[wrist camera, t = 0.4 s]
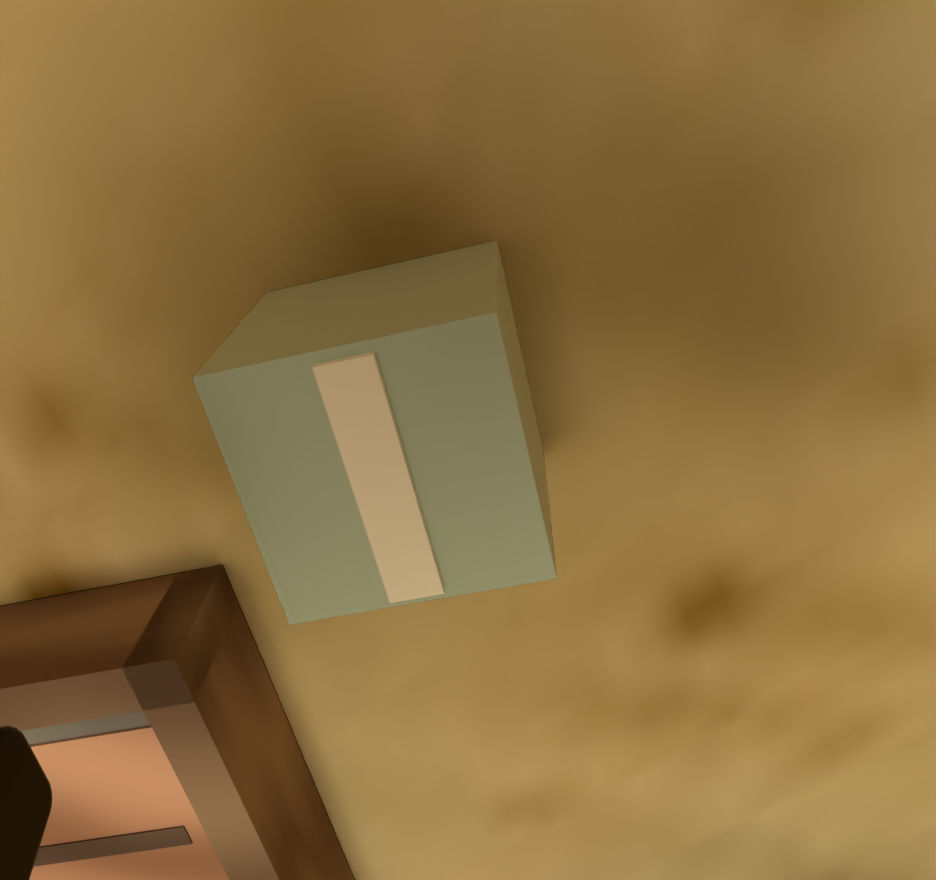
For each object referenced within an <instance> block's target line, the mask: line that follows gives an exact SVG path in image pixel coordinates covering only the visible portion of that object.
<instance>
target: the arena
mask: <svg viewBox="0 0 936 880" xmlns="http://www.w3.org/2000/svg"><path fill="white" fill-rule="evenodd" d="M0 726H12V727H16V728H17V729H18V730H20V731H21V732H22V733H23V735H24V736H25V738H26V740H27V741H28V743H29V745H30V747H31V749H32V751H33V752H34V754H35V756H36V758H37V760H38V762H39V764H40V765H41V767H42V769H43V771H44V773H45V775H46V777H47V778H48V780H49V783H50V785H51V789H52V808H51V812H50V815H49V818H48V822H47V825H46V828H45V831H44V835H43V838H42V841H41V844H40V847H39V851H38V854H37V857H36V860H35V863H34V867H33V870H32V873H31V876H30V879H29V880H355V879H354V877H353V875H352V872H351V870H350V867H349V865H348V863H347V860H346V858H345V856H344V853H343V851H342V848H341V846H340V844H339V841H338V839H337V837H336V834H335V832H334V829H333V827H332V825H331V822H330V820H329V818H328V815H327V813H326V810H325V808H324V806H323V803H322V801H321V799H320V796H319V794H318V791H317V789H316V787H315V784H314V782H313V779H312V777H311V775H310V772H309V770H308V768H307V765H306V763H305V760H304V758H303V756H302V753H301V751H300V749H299V746H298V744H297V741H296V739H295V737H294V734H293V732H292V730H291V727H290V725H289V722H288V720H287V718H286V715H285V713H284V711H283V708H282V706H281V703H280V701H279V699H278V696H277V694H276V692H275V689H274V687H273V684H272V682H271V680H270V677H269V675H268V673H267V670H266V668H265V665H264V663H263V661H262V658H261V656H260V653H259V651H258V649H257V646H256V644H255V642H254V639H253V637H252V634H251V632H250V630H249V627H248V625H247V623H246V620H245V618H244V615H243V613H242V611H241V608H240V606H239V604H238V601H237V599H236V596H235V594H234V592H233V589H232V587H231V585H230V582H229V580H228V577H227V575H226V573H225V570H224V568H223V566H222V565H221V566H215V567H210V568H205V569H199V570H194V571H188V572H183V573H178V574H172V575H167V576H161V577H156V578H151V579H145V580H140V581H134V582H129V583H124V584H118V585H113V586H107V587H102V588H97V589H91V590H86V591H80V592H75V593H70V594H64V595H59V596H53V597H48V598H43V599H37V600H32V601H26V602H21V603H16V604H10V605H5V606H0Z"/></svg>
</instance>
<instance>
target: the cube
mask: <svg viewBox="0 0 936 880" xmlns="http://www.w3.org/2000/svg"><path fill="white" fill-rule="evenodd" d="M192 379H193V382H194V385H195V387H196V390H197V392H198V395H199V397H200V400H201V402H202V405H203V407H204V410H205V412H206V415H207V417H208V420H209V422H210V425H211V428H212V430H213V433H214V435H215V438H216V440H217V443H218V445H219V448H220V450H221V453H222V455H223V458H224V460H225V463H226V466H227V468H228V471H229V473H230V476H231V478H232V481H233V483H234V486H235V488H236V491H237V493H238V496H239V498H240V501H241V504H242V506H243V509H244V511H245V514H246V516H247V519H248V521H249V524H250V526H251V529H252V531H253V534H254V536H255V539H256V542H257V544H258V547H259V549H260V552H261V554H262V557H263V559H264V562H265V564H266V567H267V569H268V572H269V574H270V577H271V580H272V582H273V585H274V587H275V590H276V592H277V595H278V597H279V600H280V602H281V605H282V607H283V610H284V612H285V615H286V617H287V620H288V623H289V625H292V624H297V623H303V622H309V621H315V620H320V619H326V618H332V617H338V616H343V615H349V614H355V613H361V612H366V611H372V610H378V609H384V608H390V607H395V606H401V605H407V604H413V603H418V602H424V601H430V600H436V599H441V598H447V597H453V596H459V595H465V594H470V593H476V592H482V591H488V590H493V589H499V588H505V587H511V586H516V585H522V584H528V583H534V582H540V581H545V580H551V579H557V575H556V566H555V556H554V547H553V537H552V527H551V518H550V508H549V499H548V489H547V479H546V470H545V460H544V452H543V448H542V443H541V439H540V434H539V430H538V425H537V420H536V416H535V411H534V407H533V402H532V397H531V393H530V388H529V384H528V379H527V375H526V370H525V365H524V361H523V356H522V352H521V347H520V343H519V338H518V333H517V329H516V324H515V320H514V315H513V311H512V306H511V301H510V297H509V292H508V288H507V283H506V278H505V274H504V269H503V265H502V260H501V256H500V251H499V246H498V242H497V241H493V242H488V243H484V244H479V245H475V246H470V247H466V248H462V249H457V250H453V251H448V252H444V253H440V254H435V255H431V256H426V257H422V258H417V259H413V260H409V261H404V262H400V263H395V264H391V265H386V266H382V267H378V268H373V269H369V270H364V271H360V272H355V273H351V274H347V275H342V276H338V277H333V278H329V279H325V280H320V281H316V282H311V283H307V284H302V285H298V286H294V287H289V288H285V289H280V290H276V291H271V292H267V293H266V294H265V295H264V296H263V297H262V298H261V299H260V301H259V302H258V303H257V304H256V305H255V306H254V307H253V309H252V310H251V311H250V312H249V313H248V314H247V315H246V317H245V318H244V319H243V320H242V321H241V322H240V323H239V325H238V326H237V327H236V328H235V329H234V330H233V331H232V333H231V334H230V335H229V336H228V337H227V338H226V339H225V341H224V342H223V343H222V344H221V345H220V346H219V347H218V349H217V350H216V351H215V352H214V353H213V354H212V355H211V357H210V358H209V359H208V360H207V361H206V362H205V363H204V365H203V366H202V367H201V368H200V369H199V370H198V371H197V373H196V374H195V375H194V376H193V377H192Z"/></svg>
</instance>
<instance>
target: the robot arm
mask: <svg viewBox="0 0 936 880" xmlns="http://www.w3.org/2000/svg"><path fill="white" fill-rule="evenodd" d="M51 808H52V789H51V785H50V783H49V780H48V778H47V777H46V775H45V773H44V771H43V769H42V767H41V765H40V764H39V762H38V760H37V758H36V756H35V754H34V752H33V751H32V749H31V747H30V745H29V743H28V741H27V740H26V738H25V736H24V735H23V733H22V732H21V731H20V730H18V729H17V728H16V727H12V726H0V880H29V879H30V876H31V873H32V870H33V867H34V863H35V860H36V857H37V854H38V851H39V847H40V844H41V841H42V838H43V835H44V831H45V828H46V825H47V822H48V818H49V815H50V812H51Z"/></svg>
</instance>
